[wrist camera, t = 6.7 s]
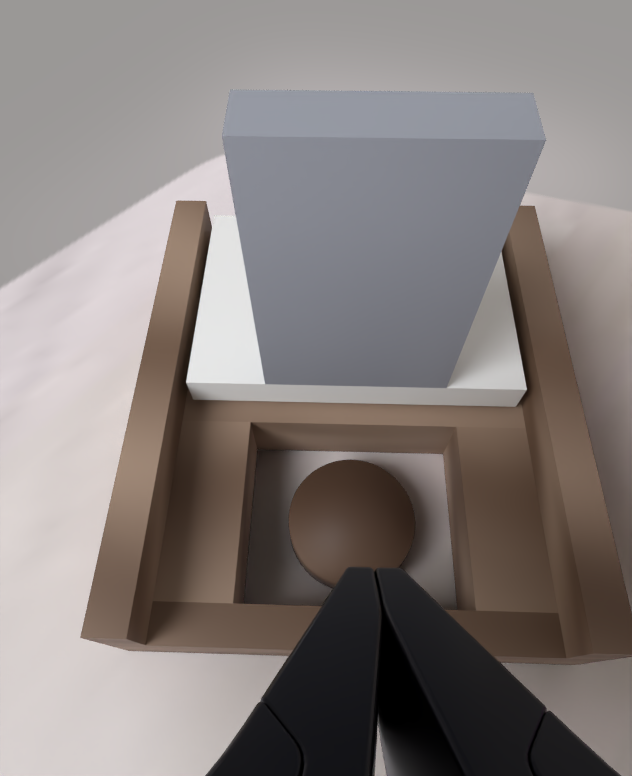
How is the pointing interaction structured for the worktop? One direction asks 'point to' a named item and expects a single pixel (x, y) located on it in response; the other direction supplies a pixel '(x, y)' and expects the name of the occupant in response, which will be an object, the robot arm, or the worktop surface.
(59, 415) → the worktop surface
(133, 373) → the worktop surface
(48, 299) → the worktop surface
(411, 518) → the board
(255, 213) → the lid
